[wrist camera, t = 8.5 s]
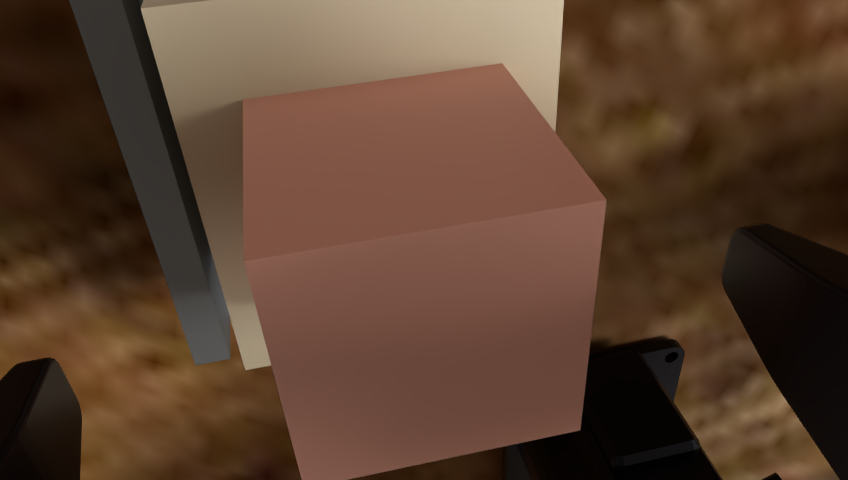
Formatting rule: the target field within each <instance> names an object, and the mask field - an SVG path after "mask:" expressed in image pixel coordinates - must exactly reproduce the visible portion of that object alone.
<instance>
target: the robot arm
mask: <svg viewBox="0 0 848 480" xmlns="http://www.w3.org/2000/svg"><path fill="white" fill-rule="evenodd" d="M722 283H723V287H724V289H725V292H726V294H727V296H728V297H729V299H730V301H731V303H732V305H733V307H734V309H735V311H736V313H737V314H738V316H739V318H740V320H741V322H742V324H743V326H744V328H745V329H746V331H747V333H748V335H749V337H750V339H751V341H752V343H753V345H754V346H755V348H756V350H757V352H758V354H759V356H760V358H761V360H762V361H763V363H764V365H765V367H766V369H767V370H768V372H769V374H770V376H771V377H772V379H773V381H774V382H775V384H776V385H777V387H778V388H779V390H780V392H781V393H782V395H783V396H784V398H785V399H786V401H787V402H788V404H789V405H790V406H791V408H792V409H793V411H794V412H795V414H796V415H797V417H798V418H799V420H800V421H801V423H802V424H803V426H804V427H805V429H806V430H807V432H808V433H809V435H810V436H811V438H812V439H813V441H814V442H815V443H816V445H817V446H818V448H819V449H820V451H821V452H822V454H823V455H824V457H825V458H826V460H827V461H828V463H829V464H830V466H831V467H832V469H833V470H834V472H835V473H836V475H837V476H838V477H839V479H840V480H848V255H846V254H844V253H841V252H839V251H836V250H834V249H831V248H829V247H826V246H823V245H821V244H818V243H816V242H813V241H811V240H808V239H806V238H803V237H800V236H798V235H795V234H793V233H790V232H788V231H785V230H783V229H780V228H778V227H775V226H772V225H770V224H766V223H759V224H754V225H748V226H743V227H739V228H737V229H736V230H735V231H734V232H733V234H732V236H731V240H730V243H729V247H728V251H727V255H726V259H725V263H724V267H723V270H722ZM684 355H685V354H684V350H683V348H682V347H681V346H680V344H679V343H678V342H677V341H676V340H674V339H669V340H663V341H659V342H654V343H649V344H644V345H639V346H635V347H630V348H625V349H620V350H615V351H611V352H606V353H601V354H596V355H591V356H589V359H588V367H587V376H586V385H585V394H584V402H583V411H582V420H581V428H580V430H579V431H575V432H570V433H565V434H561V435H556V436H551V437H546V438H542V439H537V440H532V441H528V442H523V443H518V444H513V445H509V446H504V447H503V480H723V479H722V478H721V476H720V475H719V473H718V472H717V470H716V469H715V467H714V465H713V464H712V462H711V461H710V459H709V458H708V456H707V455H706V453H705V452H704V450H703V449H702V447H701V446H700V443H699V440H698V438H697V437H696V435H695V434H694V432H693V431H692V429H691V428H690V426H689V425H688V423H687V422H686V420H685V419H684V417H683V416H682V414H681V413H680V411H679V410H678V408H677V407H676V405H675V404H674V402H673V401H674V397H675V393H676V389H677V384H678V380H679V376H680V372H681V367H682V363H683V359H684ZM81 431H82V415H81V409H80V405H79V402H78V400H77V398H76V396H75V394H74V392H73V390H72V388H71V386H70V384H69V382H68V380H67V378H66V376H65V374H64V372H63V370H62V368H61V366H60V365H59V363H58V362H57V361H56V360H55V359H53V358H42V359H37V360H32V361H26V362H22V363H19V364H17V365H15V366H14V367H13V368H11V369H10V370H9V371H8V373H7V374H6V375H5V376H4V377H3V378H2V379H1V380H0V480H80V463H81ZM762 480H782V479H781V478H780V477H779V476H778V474H777V473H774V474H772V475H770V476H768V477H766V478H764V479H762Z"/></svg>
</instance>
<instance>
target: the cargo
mask: <svg viewBox="0 0 848 480" xmlns="http://www.w3.org/2000/svg"><path fill="white" fill-rule="evenodd" d="M606 202H607V200H606V198H605V197H604V196H603V195H602V193H601V192H600V191H599V189H598V188H597V187H596V185H595V184H594V183H593V181H592V180H591V179H590V178H589V176H588V175H587V174H586V172H585V171H584V170H583V168H582V167H581V166H580V164H579V163H578V162H577V160H576V159H575V158H574V157H573V155H572V154H571V153H570V151H569V150H568V149H567V147H566V146H565V145H564V143H563V142H562V141H561V139H560V138H559V137H558V136H557V134H556V133H555V132H554V130H553V129H552V128H551V126H550V125H549V124H548V122H547V121H546V120H545V118H544V117H543V116H542V115H541V113H540V112H539V111H538V109H537V108H536V107H535V105H534V104H533V103H532V101H531V100H530V99H529V97H528V96H527V95H526V94H525V92H524V91H523V90H522V88H521V87H520V86H519V84H518V83H517V82H516V80H515V79H514V78H513V77H512V75H511V74H510V73H509V71H508V70H507V69H506V67H505V66H504V65H503V63H501V64H494V65H486V66H479V67H472V68H465V69H458V70H451V71H443V72H436V73H429V74H422V75H415V76H408V77H401V78H393V79H386V80H379V81H372V82H365V83H358V84H351V85H343V86H336V87H329V88H322V89H315V90H308V91H300V92H293V93H286V94H279V95H272V96H265V97H258V98H250V99H243V242H244V265H245V268H246V272H247V276H248V280H249V284H250V287H251V291H252V295H253V299H254V302H255V306H256V310H257V314H258V317H259V321H260V325H261V329H262V332H263V336H264V340H265V344H266V347H267V351H268V355H269V359H270V362H271V366H272V370H273V374H274V377H275V381H276V385H277V389H278V392H279V396H280V400H281V404H282V407H283V411H284V415H285V419H286V422H287V426H288V430H289V434H290V437H291V441H292V445H293V449H294V452H295V456H296V460H297V464H298V468H299V471H300V475H301V479H302V480H348V479H353V478H358V477H363V476H367V475H372V474H377V473H381V472H386V471H391V470H396V469H400V468H405V467H410V466H414V465H419V464H424V463H429V462H433V461H438V460H443V459H447V458H452V457H457V456H462V455H466V454H471V453H476V452H480V451H485V450H490V449H495V448H499V447H504V446H509V445H513V444H518V443H523V442H528V441H532V440H537V439H542V438H546V437H551V436H556V435H561V434H565V433H570V432H575V431H579V430H580V428H581V420H582V411H583V402H584V394H585V385H586V376H587V367H588V359H589V350H590V341H591V332H592V324H593V315H594V306H595V298H596V289H597V280H598V271H599V263H600V254H601V245H602V236H603V228H604V219H605V210H606Z"/></svg>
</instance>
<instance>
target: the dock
mask: <svg viewBox="0 0 848 480" xmlns="http://www.w3.org/2000/svg"><path fill="white" fill-rule="evenodd" d="M69 2H70V5H71V8H72V10H73V13H74V16H75V19H76V22H77V25H78V28H79V31H80V34H81V36H82V39H83V42H84V45H85V48H86V51H87V54H88V57H89V59H90V62H91V65H92V68H93V71H94V74H95V77H96V80H97V83H98V85H99V88H100V91H101V94H102V97H103V100H104V103H105V106H106V109H107V111H108V114H109V117H110V120H111V123H112V126H113V129H114V132H115V134H116V137H117V140H118V143H119V146H120V149H121V152H122V155H123V158H124V160H125V163H126V166H127V169H128V172H129V175H130V178H131V181H132V184H133V186H134V189H135V192H136V195H137V198H138V201H139V204H140V207H141V209H142V212H143V215H144V218H145V221H146V224H147V227H148V230H149V233H150V235H151V238H152V241H153V244H154V247H155V250H156V253H157V256H158V259H159V261H160V264H161V267H162V270H163V273H164V276H165V279H166V282H167V284H168V287H169V290H170V293H171V296H172V299H173V302H174V305H175V308H176V310H177V313H178V316H179V319H180V322H181V325H182V328H183V331H184V334H185V336H186V339H187V342H188V345H189V348H190V351H191V354H192V357H193V360H194V362H195V365H200V364H205V363H210V362H216V361H221V360H226V359H230V315H229V312H228V308H227V305H226V301H225V298H224V294H223V291H222V287H221V284H220V281H219V277H218V274H217V270H216V267H215V263H214V260H213V256H212V253H211V250H210V246H209V243H208V239H207V236H206V232H205V229H204V225H203V222H202V219H201V215H200V212H199V208H198V205H197V201H196V198H195V194H194V191H193V187H192V184H191V181H190V177H189V174H188V170H187V167H186V163H185V160H184V156H183V153H182V150H181V146H180V143H179V139H178V136H177V132H176V129H175V125H174V122H173V119H172V115H171V112H170V108H169V105H168V101H167V98H166V94H165V91H164V88H163V84H162V81H161V77H160V74H159V70H158V67H157V63H156V60H155V56H154V53H153V50H152V46H151V43H150V39H149V36H148V32H147V29H146V25H145V22H144V19H143V15H142V12H141V6H142V3H143V0H69Z"/></svg>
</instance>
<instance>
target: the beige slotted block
mask: <svg viewBox="0 0 848 480" xmlns="http://www.w3.org/2000/svg"><path fill="white" fill-rule="evenodd" d="M563 6H564V0H143V3H142V6H141V12H142V15H143V19H144V22H145V25H146V29H147V32H148V36H149V39H150V43H151V46H152V50H153V53H154V56H155V60H156V63H157V67H158V70H159V74H160V77H161V81H162V84H163V88H164V91H165V94H166V98H167V101H168V105H169V108H170V112H171V115H172V119H173V122H174V125H175V129H176V132H177V136H178V139H179V143H180V146H181V150H182V153H183V156H184V160H185V163H186V167H187V170H188V174H189V177H190V181H191V184H192V187H193V191H194V194H195V198H196V201H197V205H198V208H199V212H200V215H201V219H202V222H203V225H204V229H205V232H206V236H207V239H208V243H209V246H210V250H211V253H212V256H213V260H214V263H215V267H216V270H217V274H218V277H219V281H220V284H221V287H222V291H223V294H224V298H225V301H226V305H227V308H228V312H229V315H230V318H231V322H232V325H233V329H234V332H235V336H236V339H237V343H238V346H239V350H240V353H241V356H242V360H243V363H244V367H245V370H249V369H254V368H259V367H265V366H270V365H271V362H270V359H269V355H268V351H267V347H266V344H265V340H264V336H263V332H262V329H261V325H260V321H259V317H258V314H257V310H256V306H255V302H254V299H253V295H252V291H251V287H250V284H249V280H248V276H247V272H246V268H245V265H244V242H243V99H250V98H258V97H265V96H272V95H279V94H286V93H293V92H300V91H308V90H315V89H322V88H329V87H336V86H343V85H351V84H358V83H365V82H372V81H379V80H386V79H393V78H401V77H408V76H415V75H422V74H429V73H436V72H443V71H451V70H458V69H465V68H472V67H479V66H486V65H494V64H501V63H503V65H504V66H505V67H506V69H507V70H508V71H509V73H510V74H511V75H512V77H513V78H514V79H515V80H516V82H517V83H518V84H519V86H520V87H521V88H522V90H523V91H524V92H525V94H526V95H527V96H528V97H529V99H530V100H531V101H532V103H533V104H534V105H535V107H536V108H537V109H538V111H539V112H540V113H541V115H542V116H543V117H544V118H545V120H546V121H547V122H548V124H549V125H550V126H551V128H552V129H553V130H554V132H555V129H556V113H557V98H558V83H559V67H560V52H561V36H562V21H563Z"/></svg>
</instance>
